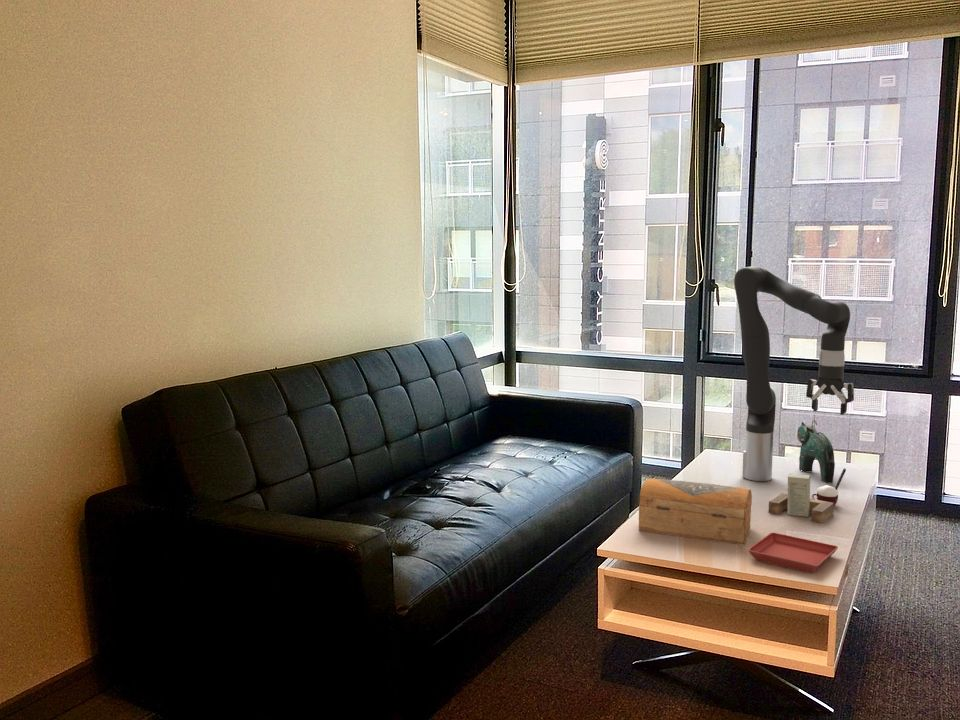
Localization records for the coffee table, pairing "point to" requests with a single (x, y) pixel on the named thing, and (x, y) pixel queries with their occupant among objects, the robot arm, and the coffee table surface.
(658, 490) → the wooden box
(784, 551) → the plant saucer
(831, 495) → the cocoa
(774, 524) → the coffee table surface
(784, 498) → the wooden u-shaped block
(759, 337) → the robot arm
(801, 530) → the coffee table surface
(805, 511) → the skincare box
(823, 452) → the ceramic cat
